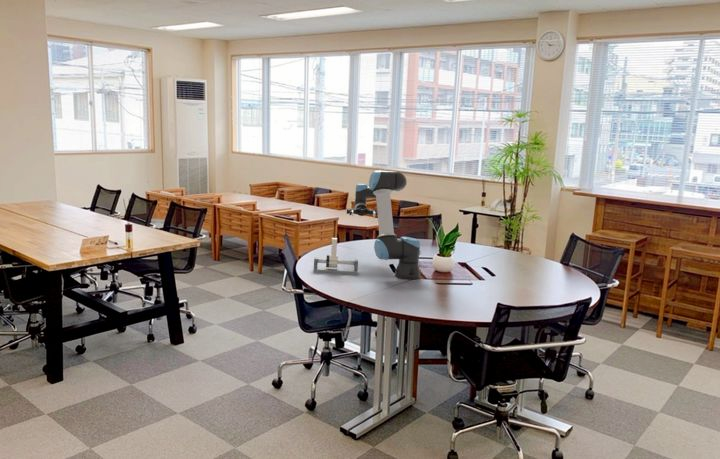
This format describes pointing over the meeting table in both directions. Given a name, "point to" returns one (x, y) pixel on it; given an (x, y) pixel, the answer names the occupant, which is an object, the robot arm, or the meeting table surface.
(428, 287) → the meeting table surface
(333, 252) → the sleeve
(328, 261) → the ring
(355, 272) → the pipe stand
